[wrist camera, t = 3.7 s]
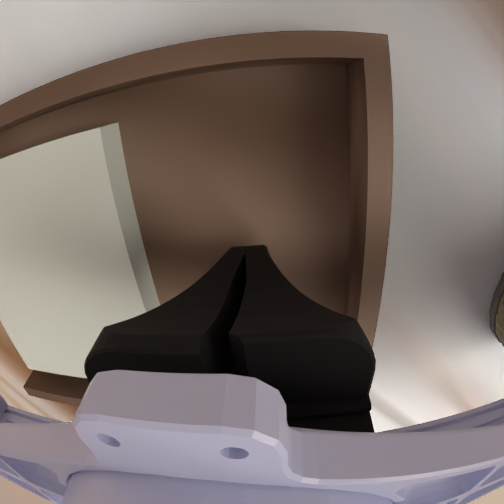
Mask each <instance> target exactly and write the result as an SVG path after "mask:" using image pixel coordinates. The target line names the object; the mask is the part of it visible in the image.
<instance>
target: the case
mask: <svg viewBox="0 0 504 504" xmlns="http://www.w3.org/2000/svg"><path fill="white" fill-rule="evenodd" d="M113 123H118V124H119V130H120V136H121V142H122V148H123V153H124V159H125V164H126V169H127V174H128V179H129V184H130V189H131V194H132V198H133V203H134V207H135V212H136V216H137V220H138V225H139V229H140V233H141V237H142V241H143V245H144V249H145V253H146V256H147V260H148V264H149V268H150V271H151V275H152V279H153V282H154V286H155V289H156V293H157V296H158V299H159V303H160V305H162V304H163V303H165V302H167V301H169V300H171V299H172V298H174V297H176V296H177V295H179V294H180V293H182V292H183V291H185V290H186V289H187V288H189V287H190V286H191V285H193V284H194V283H195V282H196V281H198V280H199V279H200V278H201V277H202V276H203V275H204V274H205V273H206V272H208V271H209V270H210V269H211V268H212V267H213V266H214V265H215V264H216V263H217V262H218V261H219V259H220V258H221V257H222V256H223V255H224V254H225V253H226V252H227V251H228V250H229V249H230V248H231V247H237V246H252V245H265V246H266V247H267V249H268V252H269V254H270V256H271V258H272V260H273V261H274V263H275V264H276V266H277V267H278V269H279V270H280V271H281V273H282V274H283V275H284V276H285V277H286V278H287V280H288V281H289V282H290V283H291V284H292V285H293V286H294V287H295V288H297V289H298V290H299V291H300V292H301V293H303V294H304V295H305V296H307V297H308V298H310V299H311V300H313V301H315V302H316V303H318V304H320V305H322V306H324V307H326V308H328V309H330V310H332V311H335V312H338V313H340V314H343V315H346V316H349V317H352V318H355V319H356V320H357V321H358V323H359V324H360V326H361V328H362V330H363V331H364V333H365V335H366V337H367V338H368V340H369V342H370V345H371V347H373V342H374V337H375V331H376V326H377V320H378V314H379V308H380V302H381V295H382V288H383V281H384V273H385V265H386V256H387V247H388V237H389V225H390V212H391V197H392V174H393V103H392V82H391V67H390V55H389V44H388V35H386V34H376V33H364V32H347V31H281V32H264V33H252V34H241V35H232V36H224V37H217V38H210V39H203V40H197V41H191V42H186V43H181V44H176V45H171V46H166V47H161V48H157V49H153V50H148V51H144V52H140V53H136V54H133V55H129V56H125V57H122V58H118V59H115V60H112V61H108V62H105V63H102V64H99V65H96V66H93V67H90V68H87V69H84V70H81V71H78V72H75V73H73V74H70V75H67V76H65V77H62V78H60V79H57V80H55V81H52V82H50V83H47V84H45V85H43V86H40V87H38V88H36V89H34V90H31V91H29V92H27V93H25V94H23V95H20V96H18V97H16V98H14V99H12V100H10V101H8V102H6V103H4V104H2V105H0V159H1V158H4V157H6V156H9V155H11V154H14V153H17V152H19V151H22V150H25V149H28V148H31V147H34V146H37V145H40V144H43V143H46V142H49V141H52V140H55V139H58V138H62V137H65V136H68V135H72V134H75V133H79V132H82V131H86V130H90V129H93V128H97V127H101V126H105V125H109V124H113ZM89 384H90V383H89V381H88V379H87V378H80V377H73V376H67V375H60V374H54V373H48V372H43V371H37V370H33V372H32V373H31V375H30V377H29V378H28V380H27V382H26V383H25V385H24V386H23V387H24V389H25V390H26V391H27V393H28V394H29V395H31V396H35V397H39V398H43V399H47V400H52V401H56V402H61V403H65V404H70V405H75V406H79V405H80V403H81V401H82V399H83V396H84V394H85V392H86V390H87V388H88V386H89Z"/></svg>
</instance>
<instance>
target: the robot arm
mask: <svg viewBox="0 0 504 504" xmlns="http://www.w3.org/2000/svg"><path fill="white" fill-rule="evenodd" d="M375 363H376V360H375V357H374V353H373V350H372V347H371V345H370V342H369V340H368V338H367V337H366V335H365V333H364V331H363V330H362V328H361V326H360V324H359V323H358V321H357V320H356V319H355V318H352V317H349V316H346V315H343V314H340V313H338V312H335V311H332V310H330V309H328V308H326V307H324V306H322V305H320V304H318V303H316V302H315V301H313V300H311V299H310V298H308V297H307V296H305V295H304V294H303V293H301V292H300V291H299V290H298V289H297V288H295V287H294V286H293V285H292V284H291V283H290V282H289V281H288V280H287V278H286V277H285V276H284V275H283V274H282V273H281V271H280V270H279V269H278V267H277V266H276V264H275V263H274V261H273V260H272V258H271V256H270V254H269V252H268V249H267V247H266V246H265V245H252V246H237V247H231V248H230V249H229V250H228V251H227V252H226V253H225V254H224V255H223V256H222V257H221V258H220V259H219V261H218V262H217V263H216V264H215V265H214V266H213V267H212V268H211V269H210V270H209V271H208V272H206V273H205V274H204V275H203V276H202V277H201V278H200V279H199V280H198V281H196V282H195V283H194V284H193V285H191V286H190V287H189V288H187V289H186V290H185V291H183V292H182V293H180V294H179V295H177V296H176V297H174V298H172V299H171V300H169V301H167V302H165V303H163V304H162V305H160V306H158V307H156V308H154V309H152V310H150V311H148V312H146V313H143V314H141V315H138V316H136V317H133V318H131V319H128V320H125V321H121V322H118V323H115V324H112V325H109V326H105V327H104V328H103V329H102V331H101V332H100V334H99V336H98V338H97V339H96V341H95V343H94V345H93V347H92V348H91V350H90V352H89V354H88V356H87V357H86V360H85V363H84V370H85V375H86V377H87V379H88V381H89V383H90V384H89V386H88V388H87V390H86V392H85V394H84V396H83V399H82V401H81V403H80V405H79V407H78V409H77V412H76V414H75V416H74V418H73V420H72V423H66V422H62V421H58V420H54V419H50V418H47V417H43V416H40V415H36V414H33V413H30V412H26V411H23V410H20V409H17V408H14V407H11V406H8V405H7V403H6V401H5V400H4V398H3V397H2V396H1V395H0V475H1V476H2V477H4V478H6V479H8V480H9V481H12V482H13V483H15V484H17V485H19V486H21V487H23V488H24V489H26V490H28V491H30V492H32V493H34V494H36V495H38V496H40V497H42V498H44V499H46V500H48V501H51V502H52V503H54V504H467V503H469V502H471V501H473V500H475V499H477V498H480V497H482V496H484V495H486V494H488V493H490V492H492V491H494V490H496V489H498V488H500V487H502V486H504V399H501V400H498V401H495V402H493V403H490V404H487V405H484V406H481V407H478V408H475V409H472V410H469V411H466V412H462V413H459V414H456V415H452V416H449V417H445V418H441V419H437V420H434V421H430V422H426V423H421V424H417V425H413V426H408V427H403V428H399V429H394V430H388V431H383V432H377V433H374V429H373V424H372V420H371V416H370V412H369V411H370V410H371V402H370V398H369V391H370V388H371V384H372V380H373V376H374V372H375Z"/></svg>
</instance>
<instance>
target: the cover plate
mask: <svg viewBox="0 0 504 504" xmlns="http://www.w3.org/2000/svg"><path fill="white" fill-rule="evenodd" d="M158 306H160V303H159V299H158V296H157V293H156V289H155V286H154V282H153V279H152V275H151V271H150V268H149V264H148V260H147V256H146V253H145V249H144V245H143V241H142V237H141V233H140V229H139V225H138V220H137V216H136V212H135V207H134V203H133V198H132V194H131V189H130V184H129V179H128V174H127V169H126V164H125V159H124V153H123V148H122V142H121V136H120V130H119V124H118V123H113V124H109V125H105V126H101V127H97V128H93V129H90V130H86V131H82V132H79V133H75V134H72V135H68V136H65V137H62V138H58V139H55V140H52V141H49V142H46V143H43V144H40V145H37V146H34V147H31V148H28V149H25V150H22V151H19V152H17V153H14V154H11V155H9V156H6V157H4V158H1V159H0V321H1V323H2V325H3V327H4V328H5V330H6V332H7V334H8V336H9V337H10V339H11V341H12V342H13V344H14V346H15V348H16V349H17V351H18V352H19V354H20V356H21V357H22V359H23V361H24V362H25V364H26V365H27V367H28V368H29V369H32V370H37V371H43V372H48V373H54V374H60V375H67V376H73V377H80V378H87V377H86V375H85V370H84V363H85V360H86V357H87V356H88V354H89V352H90V350H91V348H92V347H93V345H94V343H95V341H96V339H97V338H98V336H99V334H100V332H101V331H102V329H103V328H104V327H105V326H109V325H112V324H115V323H118V322H121V321H125V320H128V319H131V318H133V317H136V316H138V315H141V314H143V313H146V312H148V311H150V310H152V309H154V308H156V307H158Z"/></svg>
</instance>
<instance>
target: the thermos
mask: <svg viewBox="0 0 504 504" xmlns="http://www.w3.org/2000/svg"><path fill="white" fill-rule="evenodd" d="M490 327H491V329H492V331H493V333H494V335H495V337H496V338H497V339H498V341H499V342H500V343H502V345H503V346H504V273H503V276H502V278H501V280H500V282H499V284H498V287H497V289H496V291H495V293H494V297H493V301H492V305H491V309H490Z"/></svg>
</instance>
